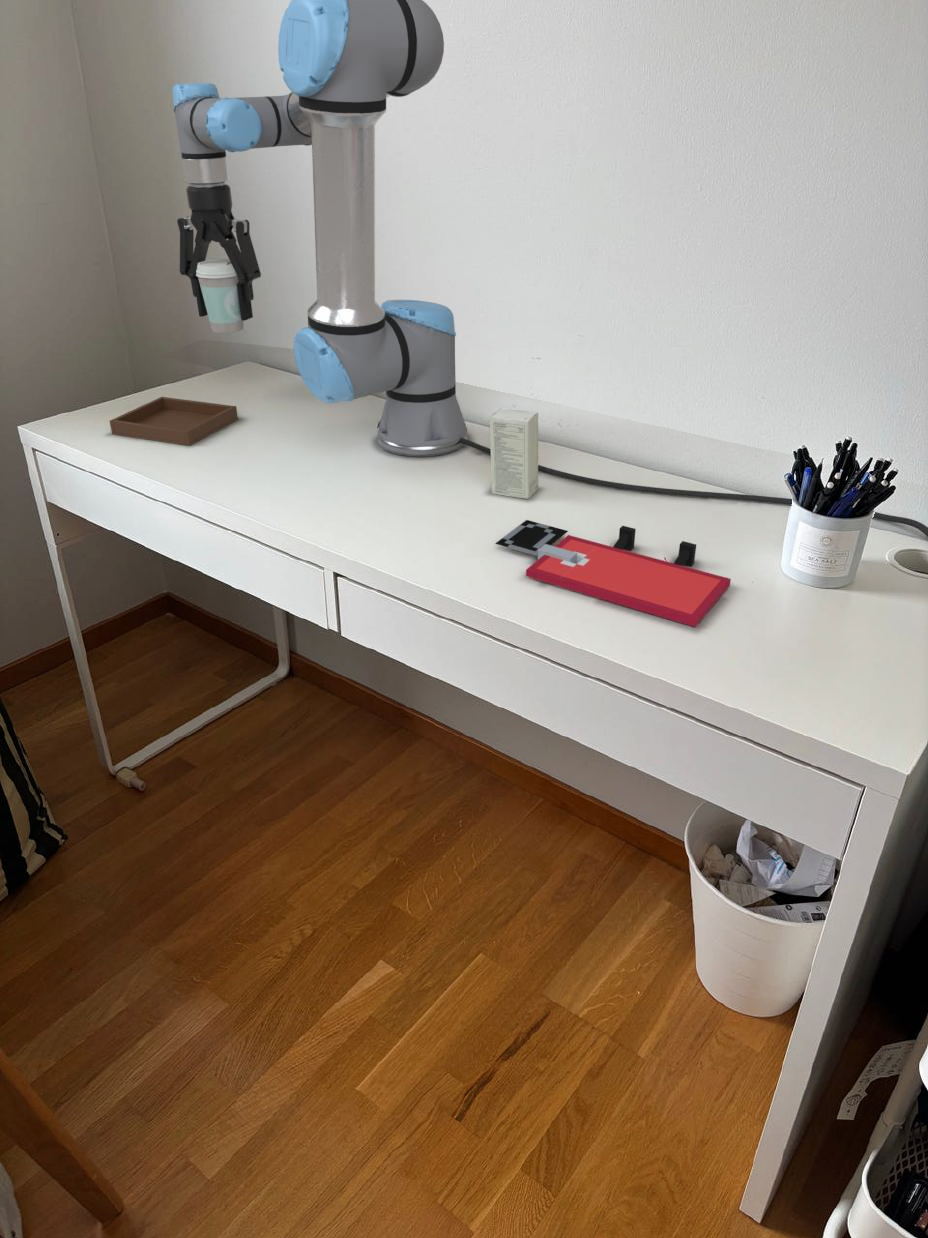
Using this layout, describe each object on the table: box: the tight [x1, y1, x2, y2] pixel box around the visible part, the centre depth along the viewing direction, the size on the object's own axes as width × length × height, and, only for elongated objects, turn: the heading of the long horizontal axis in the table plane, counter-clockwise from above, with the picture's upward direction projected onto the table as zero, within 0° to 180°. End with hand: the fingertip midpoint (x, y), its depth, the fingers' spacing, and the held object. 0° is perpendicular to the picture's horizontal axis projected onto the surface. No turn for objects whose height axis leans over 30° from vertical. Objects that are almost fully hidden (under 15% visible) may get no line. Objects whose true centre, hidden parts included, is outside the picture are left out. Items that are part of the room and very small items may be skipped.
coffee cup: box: [196, 258, 244, 334], centre depth 176 cm, size 8×8×12 cm
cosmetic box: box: [489, 408, 539, 500], centre depth 141 cm, size 6×4×12 cm
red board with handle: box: [494, 519, 732, 628], centre depth 122 cm, size 30×3×15 cm
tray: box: [109, 396, 239, 447], centre depth 171 cm, size 17×15×2 cm
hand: (226, 316), depth 178 cm, fingers closed on coffee cup, 9 cm apart
